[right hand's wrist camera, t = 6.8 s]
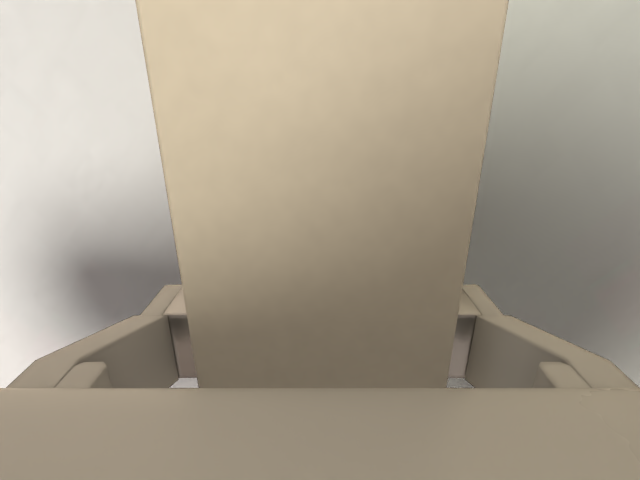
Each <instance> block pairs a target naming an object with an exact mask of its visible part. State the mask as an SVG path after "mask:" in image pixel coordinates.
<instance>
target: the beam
mask: <svg viewBox="0 0 640 480" xmlns="http://www.w3.org/2000/svg"><path fill="white" fill-rule="evenodd" d="M135 1H136V7H137V13H138V19H139V25H140V31H141V37H142V44H143V50H144V56H145V62H146V68H147V74H148V80H149V86H150V93H151V99H152V105H153V111H154V117H155V123H156V129H157V135H158V142H159V148H160V154H161V160H162V166H163V172H164V178H165V184H166V191H167V197H168V203H169V209H170V215H171V221H172V227H173V233H174V240H175V246H176V252H177V258H178V264H179V270H180V276H181V282H182V288H183V295H184V301H185V307H186V313H187V319H188V325H189V331H190V337H191V344H192V350H193V356H194V362H195V368H196V374H197V380H198V386H199V388H446V386H447V380H448V374H449V367H450V361H451V355H452V349H453V343H454V336H455V330H456V324H457V318H458V312H459V305H460V299H461V293H462V287H463V281H464V274H465V268H466V262H467V256H468V250H469V243H470V237H471V231H472V225H473V219H474V212H475V206H476V200H477V194H478V188H479V182H480V175H481V169H482V163H483V157H484V151H485V144H486V138H487V132H488V126H489V120H490V113H491V107H492V101H493V95H494V89H495V82H496V76H497V70H498V64H499V58H500V51H501V45H502V39H503V33H504V27H505V20H506V14H507V8H508V2H509V0H135Z"/></svg>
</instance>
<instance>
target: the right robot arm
mask: <svg viewBox="0 0 640 480" xmlns="http://www.w3.org/2000/svg"><path fill="white" fill-rule="evenodd" d="M194 377H197V374H196V368H195V362H194V356H193V350H192V344H191V337H190V331H189V325H188V319H187V313H186V307H185V301H184V295H183V288H182V284H177V285H165V286H164V287H163V288H162V289H161V290H160V292H159V293H158V294H157V295H156V296H155V298H154V299H153V300H152V301H151V303H150V304H149V305H148V306H147V307H146V309H145V310H144V311H143V312H142V313H141V315H134V316H132V317H129V318H127V319H125V320H123V321H121V322H118V323H116V324H114V325H112V326H110V327H107V328H105V329H103V330H101V331H99V332H97V333H94V334H92V335H90V336H88V337H86V338H83V339H81V340H79V341H77V342H75V343H72V344H70V345H68V346H66V347H64V348H61V349H59V350H57V351H55V352H53V353H50V354H48V355H46V356H44V357H42V358H39V359H37V360H35V361H34V362H33V363H32V364H31V365H30V366H29V367H28V368H27V369H26V370H24V371H23V372H22V373H21V374H20V375H19V376H18V377H17V378H16V379H15V380H14V381H13V382H12V383H10V384H9V385H8V386H7V387H6V388H0V480H640V388H639V387H638V386H637V385H636V384H635V383H634V382H633V381H632V380H631V379H630V378H628V377H627V376H626V375H625V374H624V373H623V372H622V371H621V370H620V369H619V368H618V367H617V366H615V365H614V364H613V363H612V362H611V361H610V360H607V359H605V358H603V357H601V356H599V355H596V354H594V353H592V352H590V351H587V350H585V349H583V348H581V347H579V346H576V345H574V344H572V343H570V342H568V341H565V340H563V339H561V338H559V337H557V336H554V335H552V334H550V333H548V332H545V331H543V330H541V329H539V328H537V327H534V326H532V325H530V324H528V323H526V322H523V321H521V320H519V319H517V318H515V317H512V316H510V315H503V314H502V312H501V311H500V310H499V309H498V308H497V306H496V305H495V304H494V303H493V302H492V301H491V299H490V298H489V297H488V296H487V295H486V293H485V292H484V291H483V290H482V289H481V288H480V286H479V285H476V284H469V285H463V287H462V293H461V299H460V305H459V312H458V318H457V324H456V330H455V336H454V343H453V349H452V355H451V361H450V367H449V374H448V377H449V378H465V380H466V381H468V382H469V383H470V384H471V385H472V386H474V387H475V388H169V387H170V386H172V385H173V384H174V383H175V382H176V381H177V380H178V378H194Z"/></svg>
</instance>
